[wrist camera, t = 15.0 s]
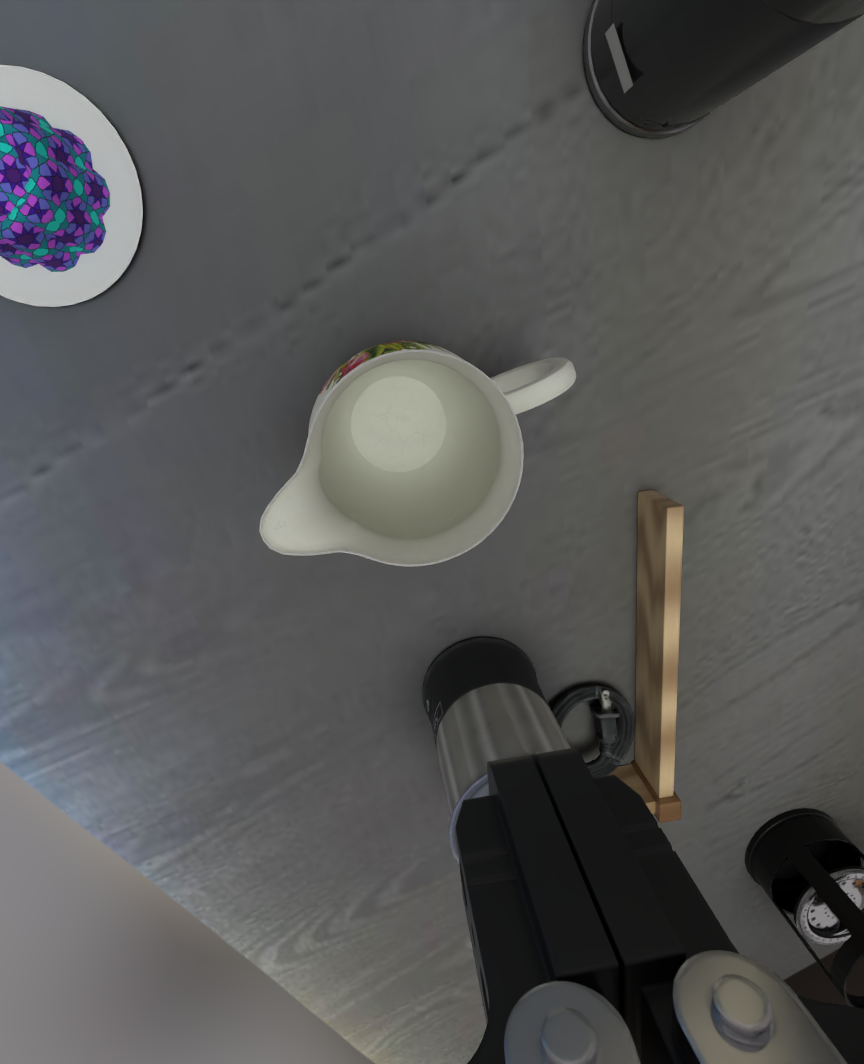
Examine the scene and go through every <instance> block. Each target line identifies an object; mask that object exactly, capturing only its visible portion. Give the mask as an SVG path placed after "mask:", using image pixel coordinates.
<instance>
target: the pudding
mask: <svg viewBox="0 0 864 1064" xmlns="http://www.w3.org/2000/svg"><path fill="white" fill-rule="evenodd" d="M142 217H143V205H142V195H141V188H140V184H139V180H138V176H137V172H136V169H135V166H134V164H133V162H132V159H131V157H130V155H129V152H128V150H127V148H126V146H125V145H124V143H123V141H122V140H121V138H120V136H119V135H118V133H117V131H116V130H115V128H114V127H113V126H112V125H111V123H110V122H109V121H108V120H107V119H106V117H105V116H104V115H103V114H102V112H101V111H100V110H99V109H98V108H96V107H95V106H94V105H93V104H92V103H91V102H90V101H89V100H88V99H87V98H85V97H84V96H83V95H82V94H80V93H79V92H77V91H76V90H74V89H73V88H71V87H70V86H68V85H67V84H66V83H64V82H62V81H60V80H58V79H55V78H53V77H51V76H49V75H47V74H45V73H42V72H39V71H35V70H31V69H28V68H24V67H18V66H7V65H0V295H1V296H3V297H6V298H8V299H11V300H14V301H16V302H20V303H25V304H29V305H34V306H46V307H59V306H66V305H74V304H77V303H80V302H83V301H86V300H89V299H91V298H93V297H95V296H96V295H98V294H100V293H102V292H103V291H105V290H106V289H108V288H109V287H110V286H111V285H112V284H113V283H114V282H116V281H117V280H118V279H119V278H120V276H121V275H122V274H123V272H124V271H125V270H126V268H127V267H128V265H129V264H130V262H131V260H132V258H133V255H134V253H135V251H136V249H137V246H138V242H139V238H140V234H141V230H142Z"/></svg>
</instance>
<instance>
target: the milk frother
mask: <svg viewBox="0 0 864 1064" xmlns="http://www.w3.org/2000/svg"><path fill="white" fill-rule="evenodd" d="M590 699H598V700H599V701H600V703H601V705H602V706H595V707H591V708H590V710H591V712H592V713H593V714H594V717H595V723H596V727H597V731H598V732H597V733H596V737H597V738H598V739H599V740H600V747H599V750H600V755H599V756H598V757H597V758H596V759H595V760H592V761H591V762H589V763H586V765H587V767H588V769H589V771H590V773H591V775H592V777H593V778H597V777H603V776H608V775H609V774H611V772H613V771H614V770H615V769H616V768H617V767H618V766H619V764H620V763H621V762H622V761H623V760H624V758H625V756H626V754H627V753H628V750H629V748H630V746H631V743H632V741H633V736H634V730H635V721H634V716H633V712H632V710H631V707H630V705H629V704H628V702H627V701H626V699H625V698H624V697H623V696H622V695H621V694H619V693H618V692H617V691H615V690H614V689H612V688H609V687H606V686H602V685H587V686H581V687H578V688H575V689H572V690H570V691H568V692H566V693H565V694H564V695H563V696H562V697H561V698H559V700H558V701H557V702H556V703H555V704H554V706H553V708H552V709H550V707H549V705H548V704H547V702H546V700H545V698H544V696H543V694H542V692H541V689H540V687H539V685H538V683H537V678H536V673H535V670H534V667H533V665H532V663H531V661H530V660H529V658H528V657H527V656H526V654H525V653H524V652H523V651H521V650H520V649H519V648H518V647H516V646H515V645H513V644H511V643H509V642H507V641H503V640H500V639H496V638H488V637H486V638H485V637H481V638H474V639H469V640H465V641H462V642H460V643H458V644H456V645H454V646H452V647H450V648H449V649H447V650H445V651H444V652H443V653H442V654H441V655H440V656H439V657H438V658H437V659H436V660H435V661H434V662H433V664H432V665H431V667H430V668H429V670H428V673H427V674H426V677H425V680H424V684H423V703H424V707H425V710H426V713H427V715H428V716H429V719H430V721H431V724H432V728H433V733H434V739H435V744H436V748H437V752H438V759H439V763H440V768H441V773H442V778H443V783H444V788H445V793H446V797H447V802H448V807H449V812H450V817H451V821H450V826H449V841H450V846H451V849H452V852H453V856H454V858H455V859H456V861H457V863H458V864H459V856H458V847H457V838H456V829H455V827H456V823H457V820H458V816H459V813H460V809H461V806H462V802H463V800H466V799H472V798H478V797H484V796H489V787H488V775H487V762H489V761H495V760H501V759H507V758H513V757H519V756H525V755H531V756H532V755H533V754H538V753H544V752H550V751H557V750H563V749H569V748H571V747H570V745H569V743H568V741H567V739H566V737H565V735H564V734H563V732H562V730H561V725H562V723H563V720H564V719H565V717H566V716H567V714H568V713H569V712H570V711H571V710H572V709H573V708H574V707H575V706H577V705H578V704H580V703H581V702H583V701H586V700H590ZM616 717H618V719H619V725H618V736H617V737H615V733H616Z"/></svg>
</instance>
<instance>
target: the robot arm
mask: <svg viewBox="0 0 864 1064" xmlns="http://www.w3.org/2000/svg"><path fill="white" fill-rule="evenodd" d="M862 15H864V0H594V1H593V4H592V6H591V9H590V12H589V15H588V18H587V22H586V27H585V33H584V42H583V57H584V67H585V73H586V77H587V81H588V84H589V87H590V90H591V92H592V95H593V97H594V99H595V101H596V102H597V104H598V106H599V107H600V109H601V110H602V111H603V113H604V114H605V115H606V116H607V117H608V118H609V119H610V120H611V121H612V122H613V123H614V124H615V125H616V126H618V127H619V128H621V129H622V130H624V131H626V132H628V133H630V134H633V135H636V136H639V137H644V138H663V137H668V136H672V135H675V134H678V133H680V132H682V131H684V130H686V129H688V128H689V127H691V126H693V125H694V124H696V123H697V122H699V121H700V120H702V119H703V118H704V117H706V116H707V115H708V114H710V112H711V111H713V110H715V109H716V108H718V107H719V106H721V105H723V104H724V103H726V102H728V101H729V100H731V99H732V98H734V97H735V96H737V95H738V94H740V93H742V92H743V91H745V90H746V89H748V88H749V87H751V86H753V85H754V84H756V83H757V82H759V81H760V80H762V79H764V78H765V77H767V76H768V75H770V74H771V73H773V72H774V71H776V70H778V69H779V68H781V67H782V66H784V65H785V64H787V63H789V62H790V61H792V60H793V59H795V58H796V57H798V56H800V55H801V54H803V53H804V52H806V51H807V50H809V49H810V48H812V47H814V46H815V45H817V44H818V43H820V42H821V41H823V40H825V39H826V38H828V37H829V36H831V35H832V34H834V33H836V32H837V31H839V30H840V29H842V28H843V27H845V26H846V25H848V24H850V23H851V22H853V21H854V20H856V19H857V18H859V17H861V16H862ZM487 775H488V787H489V796H484V797H478V798H472V799H466V800H463V802H462V806H461V809H460V813H459V816H458V820H457V823H456V827H455V829H456V838H457V847H458V856H459V865H460V874H461V883H462V892H463V900H464V905H465V911H466V916H467V921H468V927H469V931H470V937H471V942H472V948H473V953H474V958H475V963H476V969H477V974H478V980H479V985H480V990H481V995H482V1001H483V1006H484V1011H485V1017H486V1022H487V1027H486V1030H485V1034H484V1037H483V1039H482V1041H481V1043H480V1045H479V1048H478V1050H477V1051H476V1053H475V1054H474V1056H473V1057H472V1059H471V1060H470V1061H469V1062H468V1063H467V1064H864V1009H863V1008H857V1007H850V1006H844V1005H838V1004H831V1003H825V1002H820V1001H815V1000H810V999H807V998H804V997H801V996H798V995H796V994H795V993H794V992H793V990H792V989H791V988H790V987H789V986H788V984H787V983H785V982H784V981H783V980H782V979H781V978H780V977H779V976H778V975H777V974H776V973H774V972H773V971H772V970H770V969H769V968H768V967H766V966H764V965H763V964H761V963H759V962H758V961H756V960H754V959H751V958H749V957H747V956H745V955H741V954H739V953H738V951H737V950H736V948H735V947H734V945H733V944H732V943H731V941H730V939H729V938H728V936H727V935H726V933H725V931H724V930H723V928H722V927H721V925H720V923H719V922H718V920H717V918H716V917H715V915H714V914H713V912H712V910H711V909H710V907H709V905H708V904H707V902H706V901H705V899H704V897H703V896H702V894H701V893H700V891H699V889H698V888H697V886H696V884H695V883H694V881H693V880H692V878H691V876H690V875H689V873H688V871H687V870H686V868H685V867H684V865H683V863H682V862H681V860H680V858H679V857H678V855H677V854H676V852H675V851H673V850H672V847H671V844H670V842H669V841H668V839H667V837H666V836H665V834H664V833H663V831H662V829H661V828H659V827H658V825H657V821H656V820H655V818H654V816H653V815H652V813H651V812H650V810H649V808H648V807H647V805H646V803H645V802H644V800H643V799H642V797H641V795H639V794H638V793H637V792H636V791H634V790H633V789H632V788H631V787H629V786H628V785H627V784H625V783H624V782H623V781H622V780H620V779H619V778H618V777H617V776H615V775H609V776H603V777H597V778H593V777H592V775H591V773H590V771H589V769H588V767H587V765H586V763H585V762H584V760H583V758H582V756H581V754H580V752H579V751H578V750H577V749H576V748H569V749H563V750H557V751H550V752H544V753H538V754H533V755H532V756H531V755H525V756H519V757H513V758H507V759H501V760H495V761H489V762H487Z"/></svg>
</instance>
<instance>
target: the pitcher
mask: <svg viewBox="0 0 864 1064" xmlns="http://www.w3.org/2000/svg"><path fill="white" fill-rule="evenodd" d="M575 378H576V372H575V369H574V366H573V364H572V362H571V361H569V360H567V359H566V358H563V357H553V358H547V359H543V360H539V361H535V362H532V363H529V364H526V365H523V366H520V367H517V368H514V369H511V370H509V371H506V372H504V373H501V374H499V375H496V376H494V377H491V378H489V377H488V376H487V375H486V374H484V373H483V372H482V371H481V370H479V369H478V368H476V367H475V366H473V365H472V364H470V363H468V362H466V361H465V360H463V359H462V358H460V357H459V356H457V355H456V354H454V353H452V352H450V351H448V350H446V349H444V348H442V347H439V346H435V345H432V344H429V343H424V342H418V341H394V342H387V343H383V344H379V345H375V346H373V347H370V348H368V349H365V350H363V351H361V352H359V353H358V354H356V355H354V356H352V357H351V358H350V359H348V360H347V361H346V362H345V363H343V364H342V365H341V366H340V367H339V368H338V369H337V370H336V371H335V372H334V373H333V374H332V375H331V377H330V378H329V379H328V381H327V382H326V383H325V385H324V386H323V388H322V390H321V392H320V393H319V395H318V397H317V399H316V402H315V405H314V407H313V410H312V414H311V418H310V422H309V432H308V439H307V443H306V446H305V450H304V454H303V457H302V460H301V462H300V465H299V467H298V469H297V471H296V473H295V474H294V475H293V476H292V477H291V478H290V479H289V481H288V482H287V483H286V484H285V485H284V486H283V487H282V488H281V489H280V491H279V492H278V493H277V494H276V496H275V497H274V498H273V499H272V501H271V502H270V503H269V505H268V506H267V508H266V510H265V512H264V514H263V516H262V517H261V521H260V530H259V531H260V534H261V536H262V539H263V541H264V542H265V543H266V544H267V546H268V547H269V548H270V549H272V550H274V551H276V552H278V553H280V554H286V555H296V556H304V555H320V554H328V553H335V552H343V553H350V554H355V555H359V556H362V557H365V558H368V559H372V560H375V561H378V562H381V563H385V564H390V565H395V566H424V565H430V564H436V563H440V562H443V561H446V560H449V559H452V558H454V557H457V556H459V555H461V554H463V553H465V552H467V551H468V550H470V549H472V548H473V547H475V546H476V545H478V544H479V543H480V542H482V541H483V540H484V539H485V538H486V537H487V536H488V535H490V534H491V533H492V532H493V531H494V530H495V528H496V527H497V526H498V525H499V524H500V523H501V521H502V520H503V518H504V517H505V515H506V514H507V512H508V511H509V509H510V507H511V505H512V503H513V501H514V499H515V497H516V494H517V491H518V488H519V485H520V481H521V476H522V471H523V459H524V453H523V441H522V435H521V430H520V427H519V423H518V420H517V417H516V414H519V413H521V412H524V411H527V410H529V409H532V408H534V407H536V406H539V405H541V404H543V403H545V402H547V401H549V400H551V399H553V398H555V397H557V396H559V395H560V394H562V393H563V392H565V391H566V390H568V389H569V388H570V387H571V386H572V385H573V383H574V382H575Z"/></svg>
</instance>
